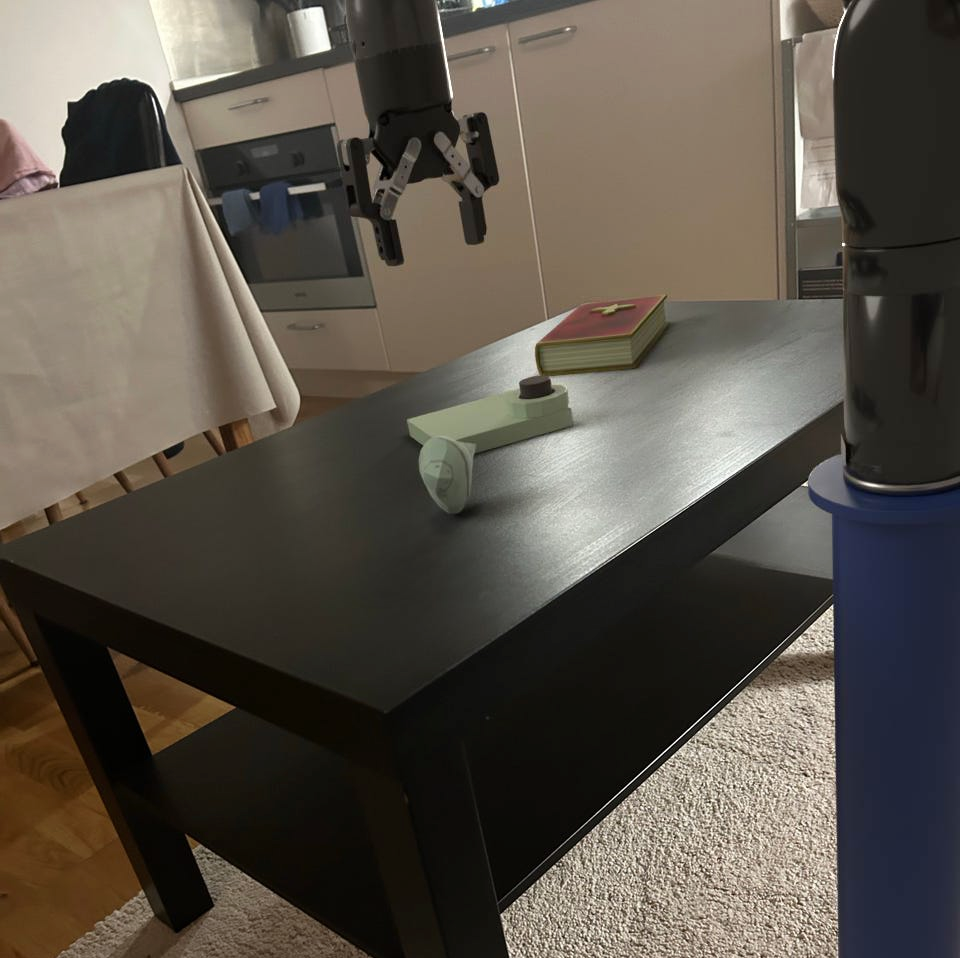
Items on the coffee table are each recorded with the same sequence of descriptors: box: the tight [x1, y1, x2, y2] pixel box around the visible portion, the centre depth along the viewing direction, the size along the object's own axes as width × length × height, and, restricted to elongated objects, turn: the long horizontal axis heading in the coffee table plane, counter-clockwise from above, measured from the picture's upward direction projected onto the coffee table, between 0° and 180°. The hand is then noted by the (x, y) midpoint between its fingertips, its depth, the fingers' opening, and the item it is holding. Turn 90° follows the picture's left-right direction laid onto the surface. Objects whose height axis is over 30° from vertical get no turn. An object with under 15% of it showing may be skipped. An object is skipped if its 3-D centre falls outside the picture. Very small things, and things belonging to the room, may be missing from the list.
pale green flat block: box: [406, 384, 574, 455], centre depth 105 cm, size 14×12×4 cm
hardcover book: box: [534, 293, 670, 377], centre depth 128 cm, size 12×21×4 cm, turn 160°
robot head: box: [418, 436, 476, 515], centre depth 85 cm, size 8×4×7 cm, turn 158°
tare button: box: [518, 374, 553, 399], centre depth 102 cm, size 3×3×2 cm
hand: (436, 254), depth 90 cm, fingers open, 8 cm apart
